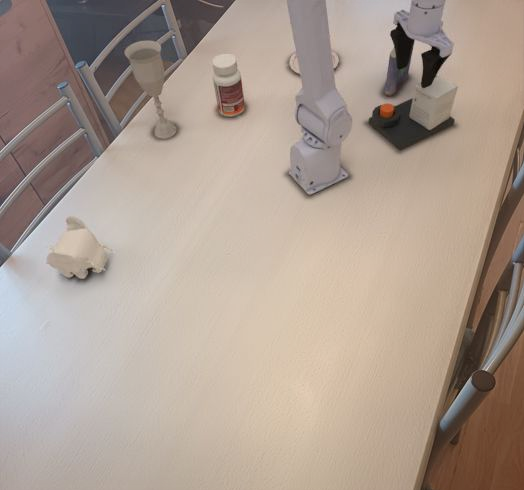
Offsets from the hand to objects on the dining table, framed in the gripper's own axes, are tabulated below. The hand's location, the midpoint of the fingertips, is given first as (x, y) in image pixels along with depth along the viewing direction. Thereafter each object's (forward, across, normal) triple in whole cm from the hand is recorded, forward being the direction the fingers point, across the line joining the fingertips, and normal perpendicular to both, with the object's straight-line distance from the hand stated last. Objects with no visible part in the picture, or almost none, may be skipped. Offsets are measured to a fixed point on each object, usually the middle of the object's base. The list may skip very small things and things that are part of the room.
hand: (413, 76), depth 99 cm
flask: (+10, +12, -6) cm, 17 cm away
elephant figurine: (+11, 0, +73) cm, 74 cm away
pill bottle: (+11, +27, +29) cm, 41 cm away
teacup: (+10, +31, +4) cm, 33 cm away
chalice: (+11, +29, +45) cm, 54 cm away
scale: (+10, -1, -1) cm, 10 cm away
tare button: (+8, +2, +4) cm, 9 cm away
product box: (+9, -3, -4) cm, 10 cm away
